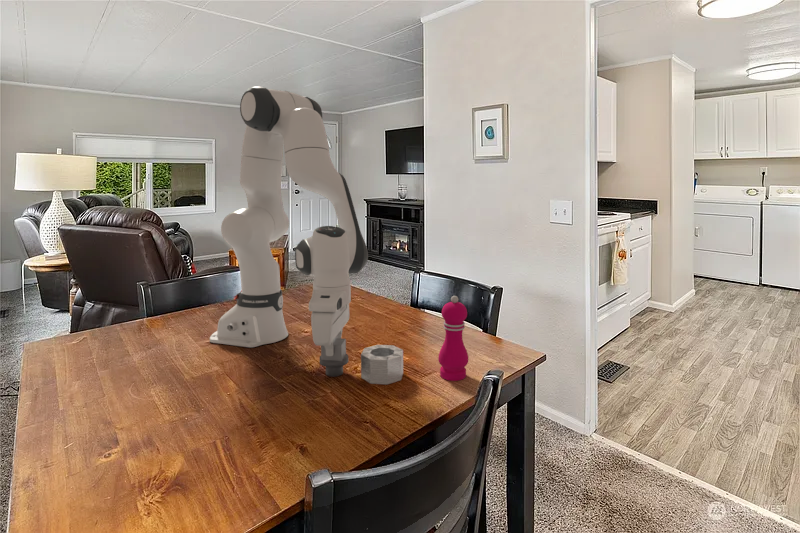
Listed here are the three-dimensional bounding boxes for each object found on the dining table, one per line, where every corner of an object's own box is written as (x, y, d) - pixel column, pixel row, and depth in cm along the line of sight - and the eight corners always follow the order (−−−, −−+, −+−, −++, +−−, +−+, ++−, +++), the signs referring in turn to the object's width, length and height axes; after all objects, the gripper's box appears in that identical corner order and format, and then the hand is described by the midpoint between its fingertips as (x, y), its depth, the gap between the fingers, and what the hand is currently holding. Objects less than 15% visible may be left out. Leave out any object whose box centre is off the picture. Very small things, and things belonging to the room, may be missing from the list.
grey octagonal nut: (358, 383, 109) (358, 358, 107) (366, 366, 118) (366, 344, 117) (399, 385, 107) (399, 360, 106) (404, 368, 117) (404, 345, 116)
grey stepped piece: (316, 378, 111) (315, 345, 110) (324, 366, 118) (323, 335, 116) (344, 379, 110) (344, 347, 109) (351, 368, 117) (350, 337, 116)
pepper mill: (435, 370, 116) (437, 292, 112) (464, 369, 116) (466, 291, 113) (440, 382, 109) (442, 300, 105) (471, 381, 109) (473, 299, 106)
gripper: (331, 284, 121) (332, 335, 124) (305, 306, 101) (308, 365, 104) (354, 285, 120) (355, 336, 123) (333, 307, 100) (335, 367, 103)
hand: (333, 350), depth 113 cm, fingers open, 5 cm apart
